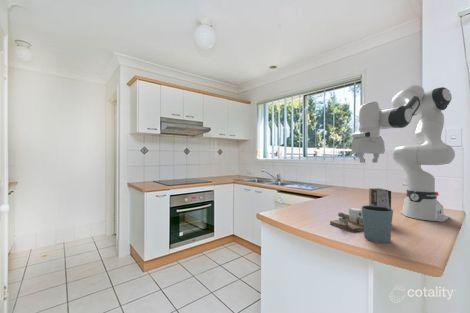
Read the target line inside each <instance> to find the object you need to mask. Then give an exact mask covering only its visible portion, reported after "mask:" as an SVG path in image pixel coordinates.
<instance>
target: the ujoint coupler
mask: <svg viewBox="0 0 470 313" xmlns="http://www.w3.org/2000/svg"><path fill="white" fill-rule="evenodd" d="M348 214H349V222H352V223H356V224H359V219H363V216H362V208H356V207H352V208H348Z"/></svg>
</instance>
